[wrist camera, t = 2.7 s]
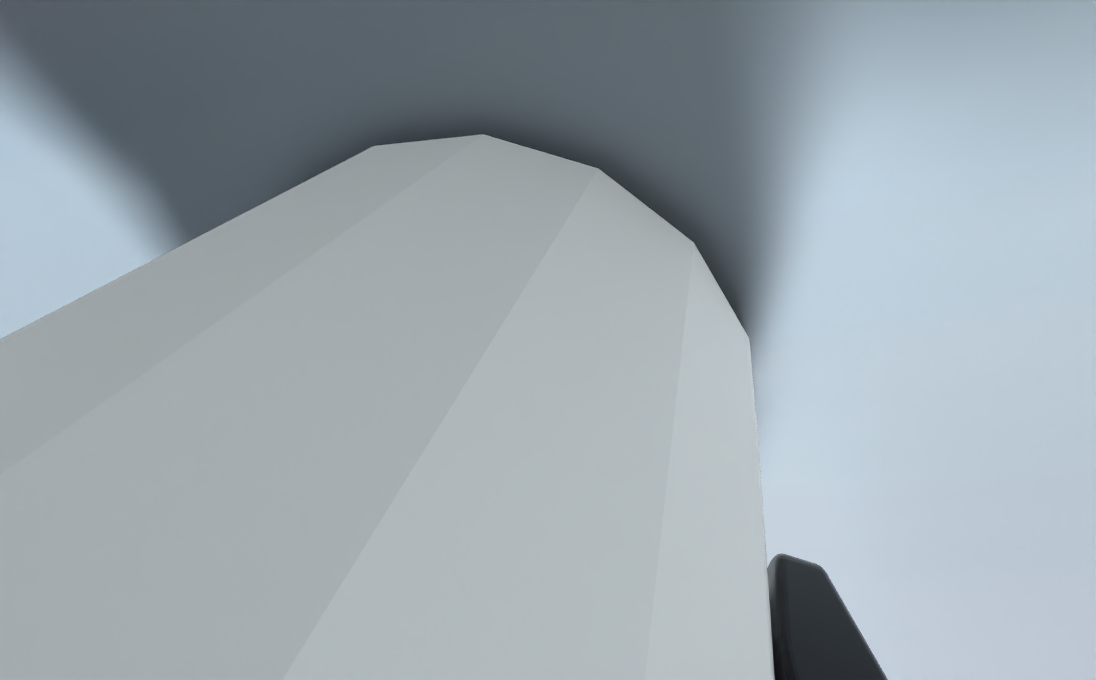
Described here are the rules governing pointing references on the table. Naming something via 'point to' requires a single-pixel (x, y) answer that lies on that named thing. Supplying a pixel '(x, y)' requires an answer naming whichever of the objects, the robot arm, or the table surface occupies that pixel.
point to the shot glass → (392, 443)
